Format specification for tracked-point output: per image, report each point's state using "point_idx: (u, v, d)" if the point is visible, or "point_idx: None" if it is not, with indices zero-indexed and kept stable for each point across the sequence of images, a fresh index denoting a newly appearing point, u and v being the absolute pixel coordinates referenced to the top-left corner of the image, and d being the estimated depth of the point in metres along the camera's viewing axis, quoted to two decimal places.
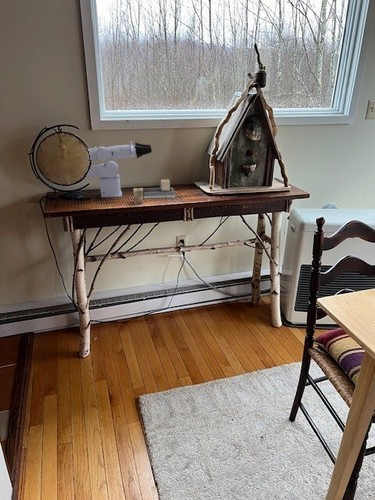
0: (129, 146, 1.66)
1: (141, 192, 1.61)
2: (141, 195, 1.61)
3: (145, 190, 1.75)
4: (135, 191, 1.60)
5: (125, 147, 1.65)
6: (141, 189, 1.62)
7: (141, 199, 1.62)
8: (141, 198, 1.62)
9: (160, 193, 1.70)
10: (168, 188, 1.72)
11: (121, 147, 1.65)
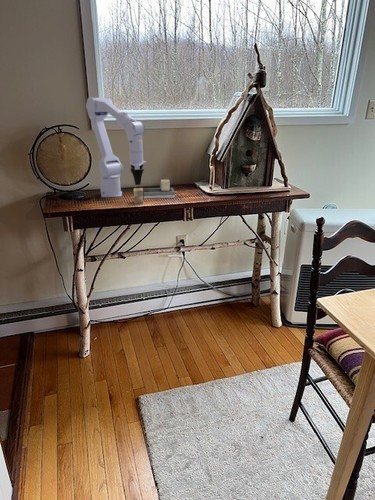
0: (141, 160, 1.55)
1: (141, 192, 1.61)
2: (141, 195, 1.61)
3: (145, 190, 1.75)
4: (135, 191, 1.60)
5: (141, 156, 1.54)
6: (141, 189, 1.62)
7: (141, 199, 1.62)
8: (141, 198, 1.62)
9: (160, 193, 1.70)
10: (168, 188, 1.72)
11: (141, 152, 1.54)
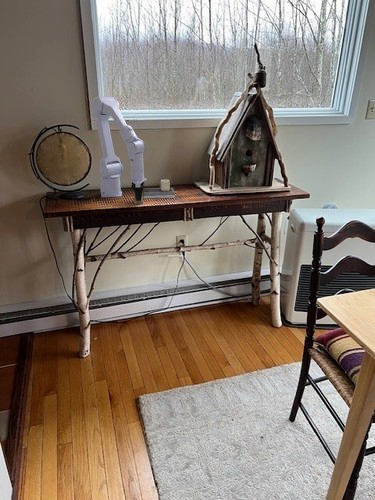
0: (142, 178, 1.58)
1: None
2: None
3: (145, 190, 1.75)
4: None
5: (141, 174, 1.57)
6: None
7: (141, 199, 1.62)
8: (141, 198, 1.62)
9: (160, 193, 1.70)
10: (168, 188, 1.72)
11: (142, 170, 1.57)
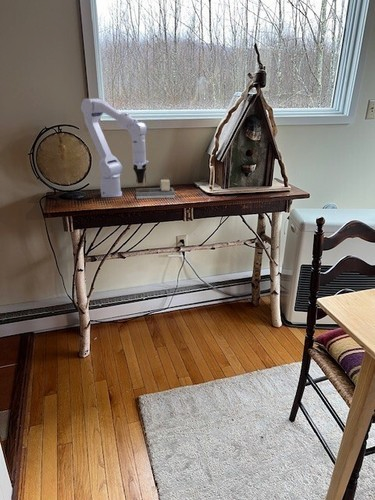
0: (144, 160, 1.60)
1: None
2: None
3: (145, 190, 1.75)
4: None
5: (143, 156, 1.59)
6: None
7: (143, 181, 1.63)
8: (143, 180, 1.63)
9: (160, 193, 1.70)
10: (168, 188, 1.72)
11: (144, 152, 1.58)
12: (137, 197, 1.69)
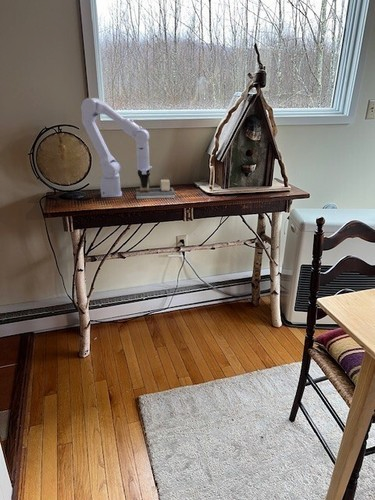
0: (148, 166, 1.66)
1: None
2: None
3: (145, 190, 1.75)
4: None
5: (147, 162, 1.65)
6: None
7: (147, 186, 1.70)
8: (147, 185, 1.70)
9: (160, 193, 1.70)
10: (168, 188, 1.72)
11: (147, 158, 1.65)
12: (137, 197, 1.69)
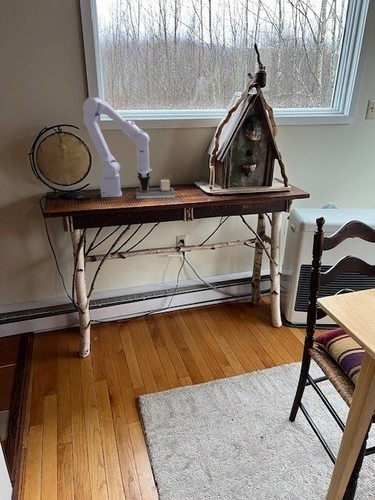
0: (148, 169, 1.67)
1: None
2: None
3: None
4: None
5: (147, 165, 1.66)
6: None
7: (147, 190, 1.71)
8: (147, 189, 1.71)
9: (160, 193, 1.70)
10: (168, 188, 1.72)
11: (147, 161, 1.65)
12: (137, 197, 1.69)
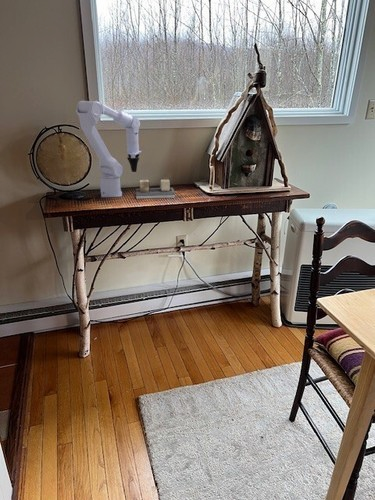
0: (137, 150, 1.77)
1: (147, 183, 1.69)
2: (147, 186, 1.70)
3: None
4: (141, 182, 1.69)
5: (136, 146, 1.76)
6: (147, 181, 1.71)
7: (147, 190, 1.71)
8: (147, 189, 1.71)
9: (160, 193, 1.70)
10: (168, 188, 1.72)
11: (137, 143, 1.75)
12: (137, 197, 1.69)
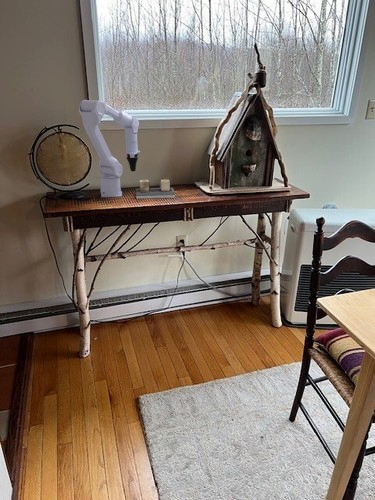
0: (136, 150, 1.78)
1: (147, 183, 1.69)
2: (147, 186, 1.70)
3: None
4: (141, 182, 1.69)
5: (135, 146, 1.77)
6: (147, 181, 1.71)
7: (147, 190, 1.71)
8: (147, 189, 1.71)
9: (160, 193, 1.70)
10: (168, 188, 1.72)
11: (135, 142, 1.77)
12: (137, 197, 1.69)
